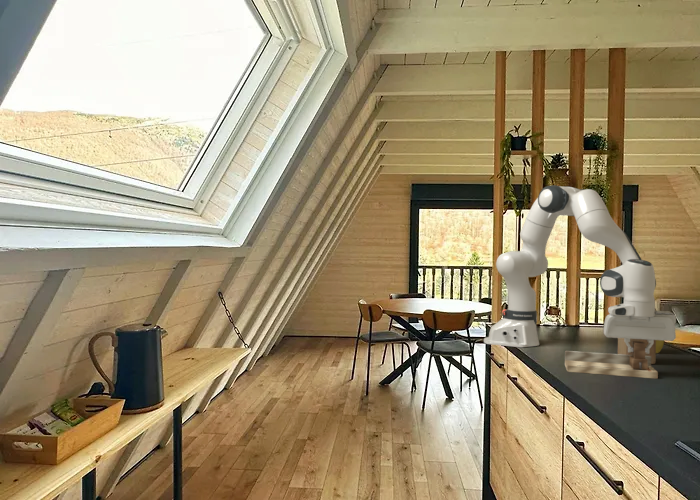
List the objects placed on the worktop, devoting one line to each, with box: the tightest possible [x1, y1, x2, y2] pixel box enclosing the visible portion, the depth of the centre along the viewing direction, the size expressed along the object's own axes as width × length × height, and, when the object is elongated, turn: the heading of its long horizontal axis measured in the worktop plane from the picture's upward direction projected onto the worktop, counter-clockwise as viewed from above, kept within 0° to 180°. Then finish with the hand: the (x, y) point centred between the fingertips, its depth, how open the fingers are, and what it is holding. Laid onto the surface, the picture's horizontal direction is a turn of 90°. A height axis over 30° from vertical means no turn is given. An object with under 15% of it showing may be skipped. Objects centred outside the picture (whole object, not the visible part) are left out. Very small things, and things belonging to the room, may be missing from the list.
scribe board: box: [564, 350, 659, 380], centre depth 170 cm, size 26×10×5 cm, turn 72°
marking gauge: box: [629, 341, 648, 370], centre depth 166 cm, size 4×7×8 cm, turn 162°
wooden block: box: [617, 307, 657, 365], centre depth 186 cm, size 10×10×20 cm
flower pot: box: [656, 340, 665, 354], centre depth 203 cm, size 9×9×9 cm
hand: (638, 352), depth 167 cm, fingers closed on marking gauge, 3 cm apart
